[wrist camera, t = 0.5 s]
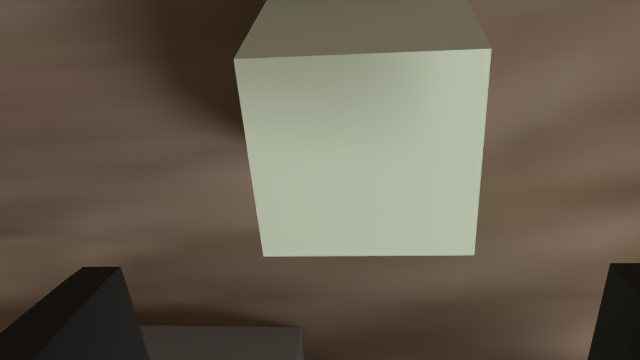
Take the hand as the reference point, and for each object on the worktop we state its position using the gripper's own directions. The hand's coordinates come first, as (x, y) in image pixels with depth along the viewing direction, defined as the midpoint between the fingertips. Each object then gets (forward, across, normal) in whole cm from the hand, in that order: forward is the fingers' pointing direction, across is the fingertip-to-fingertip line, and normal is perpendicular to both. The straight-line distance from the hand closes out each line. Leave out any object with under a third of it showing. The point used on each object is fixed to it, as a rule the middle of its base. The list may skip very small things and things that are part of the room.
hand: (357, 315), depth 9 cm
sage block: (+10, 0, 0) cm, 10 cm away
